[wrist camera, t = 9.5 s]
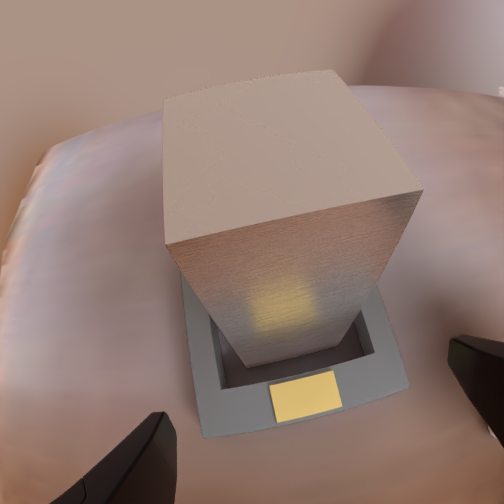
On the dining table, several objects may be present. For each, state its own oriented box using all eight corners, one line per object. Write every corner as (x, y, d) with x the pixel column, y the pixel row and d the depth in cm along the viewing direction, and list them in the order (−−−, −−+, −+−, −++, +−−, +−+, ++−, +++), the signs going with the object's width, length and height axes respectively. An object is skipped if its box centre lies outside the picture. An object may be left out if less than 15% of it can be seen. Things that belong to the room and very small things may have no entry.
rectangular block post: (337, 345, 16) (423, 189, 5) (246, 367, 16) (165, 244, 5) (312, 266, 19) (332, 69, 8) (230, 285, 19) (163, 99, 8)
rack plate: (396, 391, 14) (411, 386, 13) (212, 436, 14) (201, 438, 12) (339, 224, 20) (344, 203, 18) (187, 257, 20) (176, 238, 18)
